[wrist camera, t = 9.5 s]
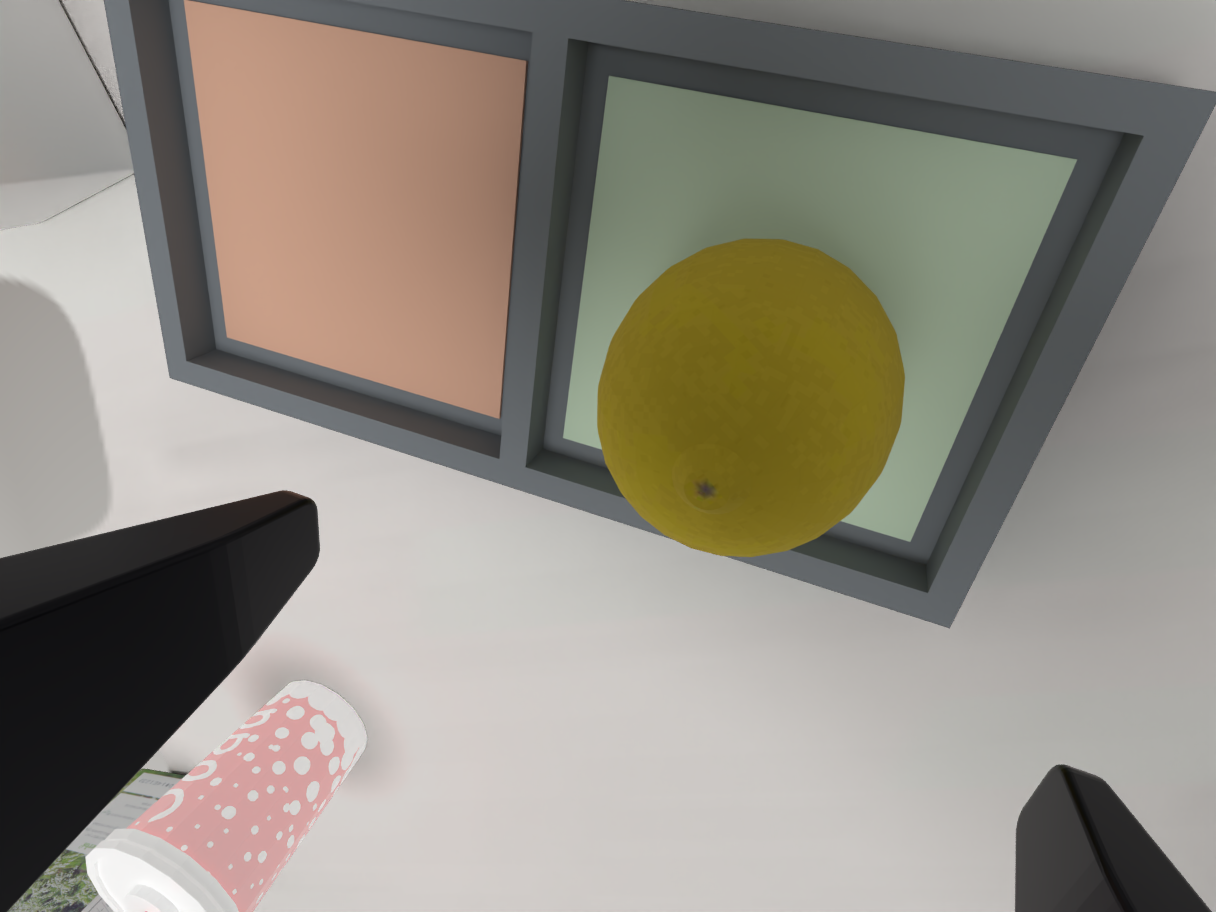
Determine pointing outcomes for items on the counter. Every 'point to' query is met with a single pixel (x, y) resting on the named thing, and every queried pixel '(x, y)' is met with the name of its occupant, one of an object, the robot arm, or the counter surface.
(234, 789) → the beverage cup
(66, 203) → the milk
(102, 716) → the robot arm
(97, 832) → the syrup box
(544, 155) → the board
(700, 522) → the lemon
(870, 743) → the counter surface
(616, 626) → the counter surface
